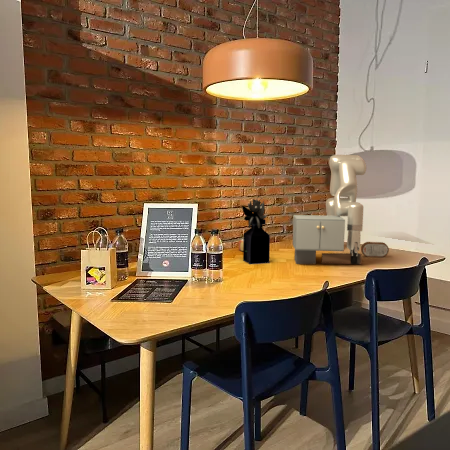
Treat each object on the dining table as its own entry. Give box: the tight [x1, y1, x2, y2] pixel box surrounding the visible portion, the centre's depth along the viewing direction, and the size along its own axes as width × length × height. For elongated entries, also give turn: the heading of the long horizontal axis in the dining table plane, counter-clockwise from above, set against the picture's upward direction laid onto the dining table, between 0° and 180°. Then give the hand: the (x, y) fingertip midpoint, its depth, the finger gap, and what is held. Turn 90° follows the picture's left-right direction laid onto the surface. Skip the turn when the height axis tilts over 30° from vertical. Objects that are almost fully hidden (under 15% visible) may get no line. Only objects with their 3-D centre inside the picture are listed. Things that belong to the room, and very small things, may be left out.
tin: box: [360, 241, 390, 258], centre depth 244 cm, size 15×3×8 cm, turn 84°
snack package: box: [238, 238, 244, 252], centre depth 250 cm, size 23×7×7 cm, turn 26°
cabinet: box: [292, 214, 346, 265], centre depth 225 cm, size 20×24×24 cm
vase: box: [241, 195, 271, 265], centre depth 225 cm, size 14×12×35 cm
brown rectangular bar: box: [321, 252, 363, 265], centre depth 224 cm, size 2×20×5 cm, turn 86°
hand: (353, 262), depth 224 cm, fingers closed on brown rectangular bar, 2 cm apart
